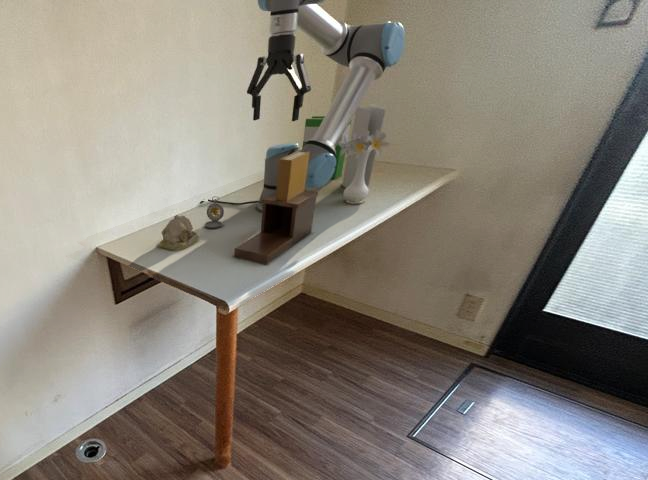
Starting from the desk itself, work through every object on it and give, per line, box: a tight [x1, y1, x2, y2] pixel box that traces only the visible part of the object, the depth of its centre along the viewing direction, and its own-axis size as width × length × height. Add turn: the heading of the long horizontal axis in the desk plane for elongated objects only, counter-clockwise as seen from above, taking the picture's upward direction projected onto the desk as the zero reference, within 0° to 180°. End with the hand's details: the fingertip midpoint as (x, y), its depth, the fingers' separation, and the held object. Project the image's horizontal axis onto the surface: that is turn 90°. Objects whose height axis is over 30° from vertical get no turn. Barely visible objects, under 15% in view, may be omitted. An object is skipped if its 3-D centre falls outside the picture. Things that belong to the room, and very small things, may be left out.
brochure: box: [341, 103, 387, 189], centre depth 170 cm, size 14×6×30 cm, turn 179°
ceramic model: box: [158, 214, 199, 251], centre depth 147 cm, size 14×11×10 cm
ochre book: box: [276, 151, 310, 201], centre depth 133 cm, size 4×12×12 cm, turn 137°
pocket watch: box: [204, 196, 225, 229], centre depth 158 cm, size 8×8×10 cm
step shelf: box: [234, 189, 319, 266], centre depth 137 cm, size 13×30×14 cm, turn 137°
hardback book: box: [301, 115, 352, 180], centre depth 191 cm, size 18×7×24 cm, turn 50°
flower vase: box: [338, 130, 390, 205], centre depth 159 cm, size 13×18×25 cm
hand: (275, 120), depth 132 cm, fingers open, 13 cm apart
